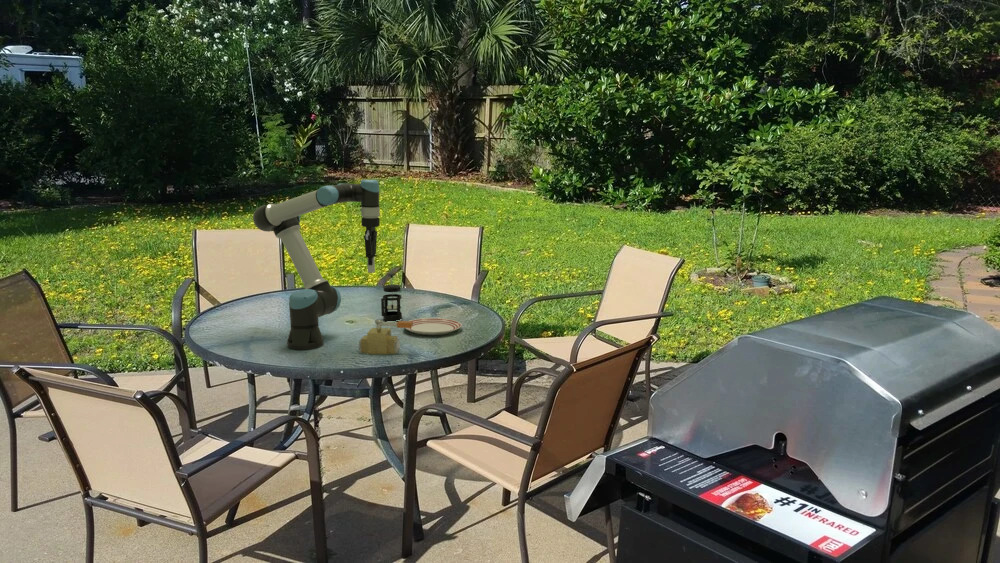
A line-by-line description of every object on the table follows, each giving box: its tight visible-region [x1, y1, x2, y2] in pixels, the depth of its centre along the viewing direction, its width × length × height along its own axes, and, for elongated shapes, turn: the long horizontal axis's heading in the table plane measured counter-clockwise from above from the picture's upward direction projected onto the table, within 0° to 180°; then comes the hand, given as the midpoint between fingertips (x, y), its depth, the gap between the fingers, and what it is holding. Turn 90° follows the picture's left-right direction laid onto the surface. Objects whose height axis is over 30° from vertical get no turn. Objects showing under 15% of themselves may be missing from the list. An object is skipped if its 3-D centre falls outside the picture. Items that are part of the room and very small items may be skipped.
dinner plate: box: [404, 317, 463, 336], centre depth 343 cm, size 28×27×3 cm
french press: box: [380, 273, 403, 322], centre depth 359 cm, size 12×9×23 cm
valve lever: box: [374, 319, 413, 331], centre depth 306 cm, size 3×16×4 cm, turn 85°
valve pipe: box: [358, 327, 401, 356], centre depth 308 cm, size 16×8×9 cm, turn 85°
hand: (371, 272), depth 314 cm, fingers closed
